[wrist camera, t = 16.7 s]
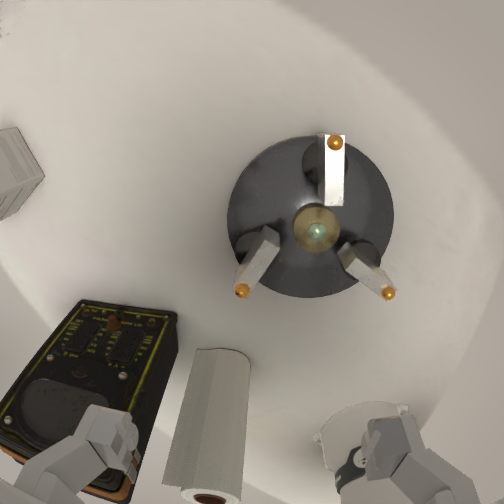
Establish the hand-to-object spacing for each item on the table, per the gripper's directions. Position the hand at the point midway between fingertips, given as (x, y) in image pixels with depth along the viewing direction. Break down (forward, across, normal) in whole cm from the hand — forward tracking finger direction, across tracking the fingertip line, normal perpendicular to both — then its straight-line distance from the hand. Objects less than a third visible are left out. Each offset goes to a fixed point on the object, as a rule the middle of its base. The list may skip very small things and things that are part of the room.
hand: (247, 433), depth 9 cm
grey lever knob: (+25, -6, -6) cm, 26 cm away
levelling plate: (+27, -5, +1) cm, 27 cm away
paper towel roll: (+27, +5, +22) cm, 35 cm away
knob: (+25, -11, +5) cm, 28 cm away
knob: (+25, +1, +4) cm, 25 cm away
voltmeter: (+27, +19, +16) cm, 37 cm away
